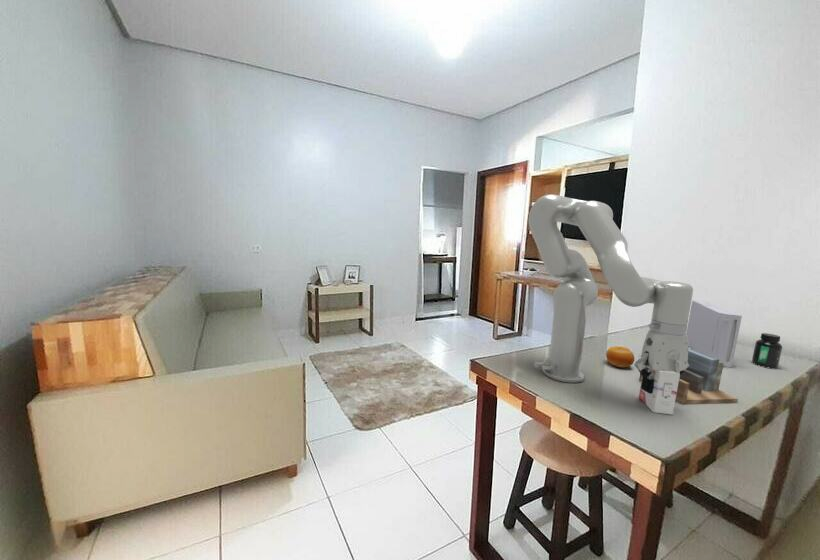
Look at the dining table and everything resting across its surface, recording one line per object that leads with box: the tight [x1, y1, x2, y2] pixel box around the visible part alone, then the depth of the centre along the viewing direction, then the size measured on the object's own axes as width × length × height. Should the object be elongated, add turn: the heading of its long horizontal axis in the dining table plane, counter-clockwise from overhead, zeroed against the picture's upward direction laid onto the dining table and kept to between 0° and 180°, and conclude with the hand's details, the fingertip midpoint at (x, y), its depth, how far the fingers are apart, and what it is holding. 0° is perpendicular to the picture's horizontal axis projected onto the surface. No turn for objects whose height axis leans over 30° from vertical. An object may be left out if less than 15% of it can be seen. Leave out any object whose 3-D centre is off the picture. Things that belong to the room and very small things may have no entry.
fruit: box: [605, 346, 635, 368], centre depth 118 cm, size 8×8×8 cm
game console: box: [686, 300, 743, 368], centre depth 132 cm, size 6×27×20 cm, turn 157°
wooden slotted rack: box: [639, 348, 739, 405], centre depth 100 cm, size 18×15×11 cm
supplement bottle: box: [751, 332, 783, 369], centre depth 123 cm, size 7×7×12 cm
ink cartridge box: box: [638, 360, 680, 416], centre depth 89 cm, size 9×5×15 cm, turn 168°
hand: (657, 390), depth 90 cm, fingers closed on ink cartridge box, 6 cm apart
